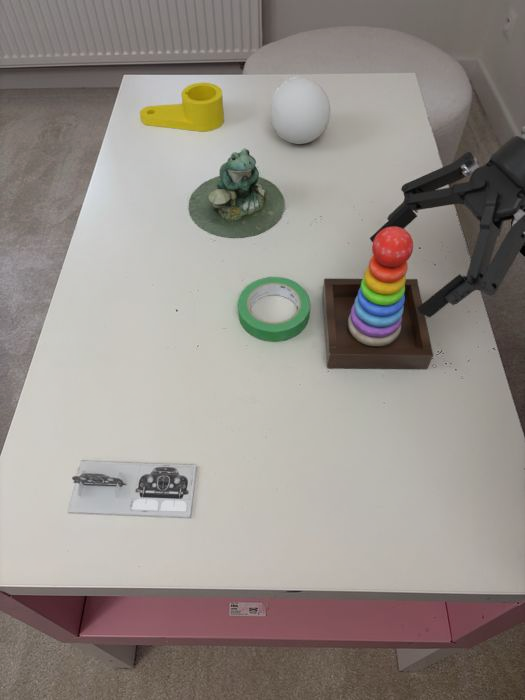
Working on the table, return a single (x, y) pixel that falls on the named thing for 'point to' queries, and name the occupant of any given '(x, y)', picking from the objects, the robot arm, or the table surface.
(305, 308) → the tape roll
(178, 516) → the car cutout
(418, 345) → the square tray
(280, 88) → the decorative ball
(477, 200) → the robot arm
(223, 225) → the frog figurine
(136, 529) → the table surface
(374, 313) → the stacking toy
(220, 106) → the crank
